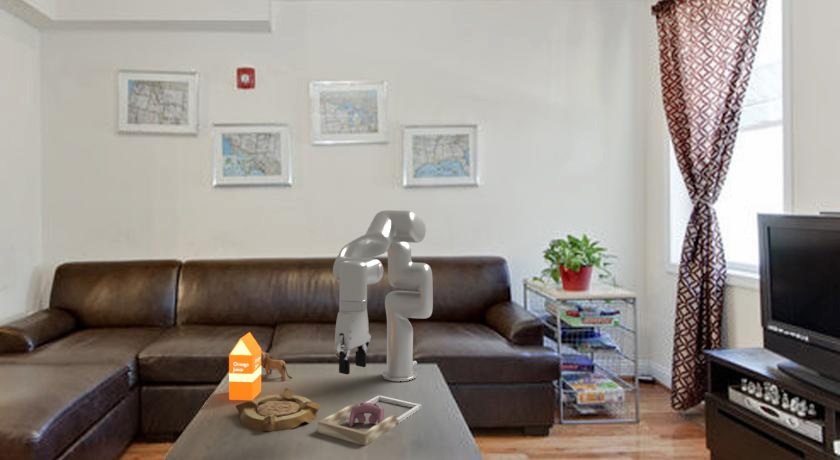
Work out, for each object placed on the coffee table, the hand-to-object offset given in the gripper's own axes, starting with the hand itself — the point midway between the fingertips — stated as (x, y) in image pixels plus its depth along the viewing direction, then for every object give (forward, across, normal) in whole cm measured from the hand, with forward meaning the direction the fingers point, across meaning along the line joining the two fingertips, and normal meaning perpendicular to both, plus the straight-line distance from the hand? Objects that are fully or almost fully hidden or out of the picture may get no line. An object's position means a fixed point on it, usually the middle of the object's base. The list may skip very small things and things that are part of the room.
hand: (352, 369), depth 150 cm
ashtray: (+18, +2, -26) cm, 32 cm away
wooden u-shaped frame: (+18, -2, 0) cm, 18 cm away
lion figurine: (+18, -23, -52) cm, 60 cm away
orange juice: (+18, -5, -47) cm, 51 cm away
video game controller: (+18, -7, 0) cm, 19 cm away
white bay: (+18, -18, 0) cm, 25 cm away
